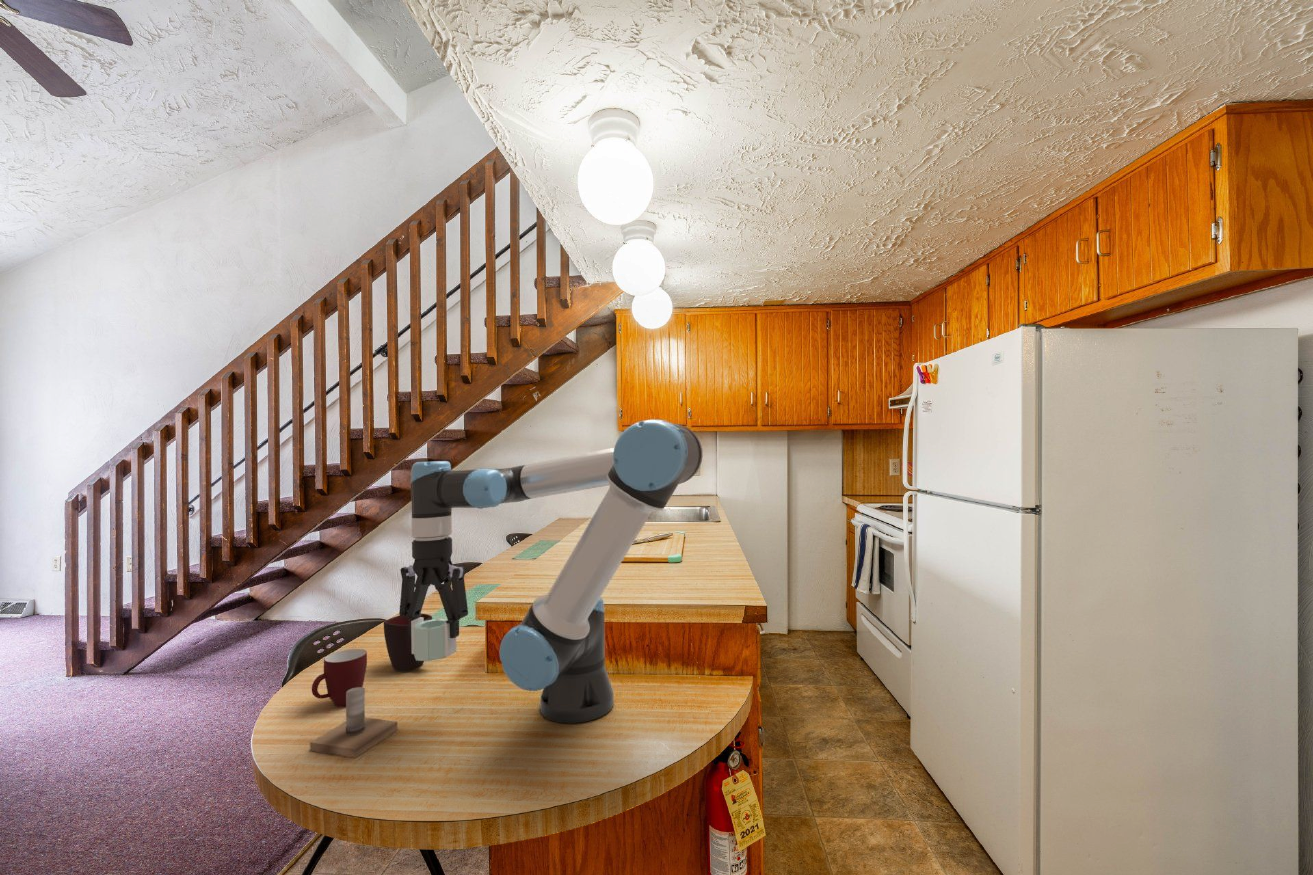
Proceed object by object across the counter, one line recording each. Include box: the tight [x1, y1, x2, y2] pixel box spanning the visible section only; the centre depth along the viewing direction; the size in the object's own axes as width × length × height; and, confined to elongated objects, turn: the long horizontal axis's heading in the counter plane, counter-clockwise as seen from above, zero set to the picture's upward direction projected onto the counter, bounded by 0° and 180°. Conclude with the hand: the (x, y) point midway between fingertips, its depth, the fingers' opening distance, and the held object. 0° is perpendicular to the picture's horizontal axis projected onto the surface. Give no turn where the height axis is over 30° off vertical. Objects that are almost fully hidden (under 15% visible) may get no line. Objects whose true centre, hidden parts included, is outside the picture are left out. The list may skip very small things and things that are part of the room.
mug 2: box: [383, 612, 433, 673], centre depth 133 cm, size 10×14×12 cm
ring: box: [414, 618, 448, 662], centre depth 107 cm, size 7×7×6 cm
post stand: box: [309, 687, 398, 759], centre depth 99 cm, size 10×10×9 cm
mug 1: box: [311, 648, 368, 707], centre depth 114 cm, size 10×8×10 cm
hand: (434, 652), depth 107 cm, fingers closed on ring, 7 cm apart
